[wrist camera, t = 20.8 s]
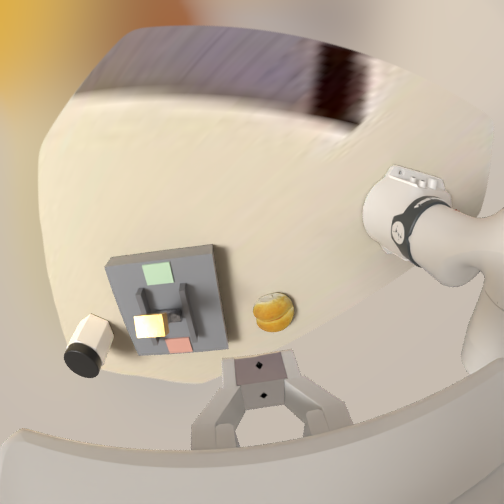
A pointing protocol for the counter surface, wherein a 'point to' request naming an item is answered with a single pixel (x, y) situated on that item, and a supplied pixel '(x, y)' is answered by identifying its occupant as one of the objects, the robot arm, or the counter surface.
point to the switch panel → (171, 298)
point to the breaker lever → (156, 323)
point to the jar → (89, 346)
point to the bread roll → (273, 312)
